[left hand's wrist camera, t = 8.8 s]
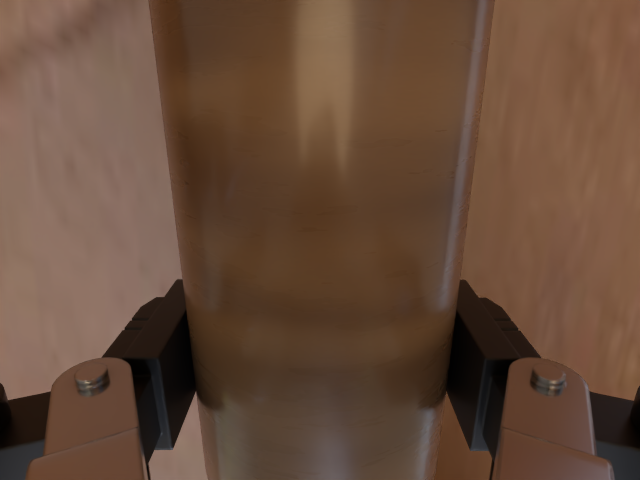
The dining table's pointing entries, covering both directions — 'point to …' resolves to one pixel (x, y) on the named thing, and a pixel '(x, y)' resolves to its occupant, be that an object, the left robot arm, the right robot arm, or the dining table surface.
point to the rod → (321, 223)
